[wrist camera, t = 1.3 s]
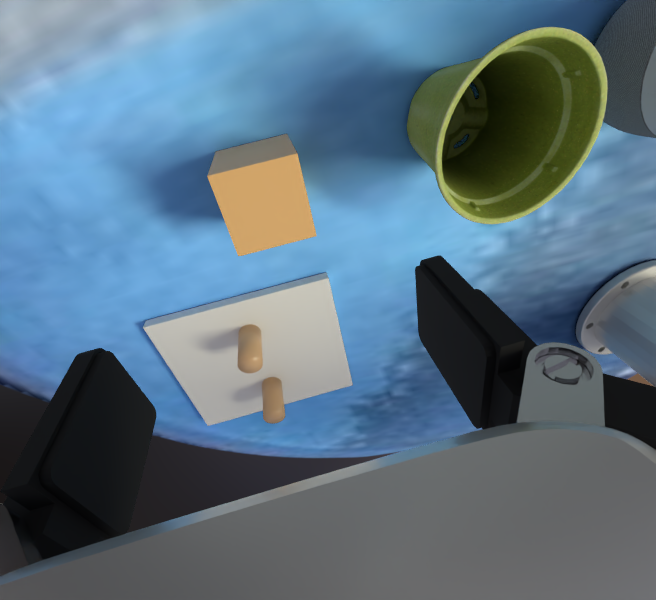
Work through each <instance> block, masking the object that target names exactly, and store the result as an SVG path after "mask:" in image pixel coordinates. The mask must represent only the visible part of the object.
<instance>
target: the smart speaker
mask: <svg viewBox="0 0 656 600" xmlns="http://www.w3.org/2000/svg"><path fill="white" fill-rule="evenodd" d="M594 47H595V48H596V50H597V51H598V53H599V54H600V56H601V58H602V61H603V64H604V67H605V71H606V75H607V87H608V89H607V103H606V109H605V114H604V118H603V121H604V122H605V123H607V124H608V125H610V126H612V127H614V128H616V129H618V130H621V131H623V132H626V133H630V134H634V135H639V136H645V137H652V138H656V0H627V1H626V2H624V3H623V4H622V5H621V7H620V8H619V9H618V10H617V11H616V12H615V13H614V15H613V16H612V17H611V19H610V20H609V21H608V23H607V24H606V26H605V27H604V29H603V30H602V32H601V34H600V36H599V37H598V39H597V41H596V44H595V46H594Z"/></svg>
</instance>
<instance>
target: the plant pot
mask: <svg viewBox="0 0 656 600" xmlns="http://www.w3.org/2000/svg"><path fill="white" fill-rule="evenodd" d="M471 82H473V83H474V84H475V86H476V87H477V89H478V92H479V98H478V99H477V100H476V99H475V96H474V93H473V91H472V88H470V86H469V84H470V83H471ZM607 89H608V87H607V75H606V71H605V67H604V64H603V61H602V58H601V56H600V54H599V53H598V51H597V50H596V48H595V47H594V46H593V45H592V43H591V42H590V41H588V40H587V39H586V38H585V37H583V36H582V35H581V34H579V33H577V32H575V31H572V30H569V29H565V28H559V27H542V28H536V29H532V30H528V31H525V32H522V33H520V34H517V35H515V36H513V37H511V38H509V39H507V40H505V41H504V42H502V43H501V44H499V45H498V46H496V47H495V48H493V49H492V50H491V51H489V52H488V53H487V54H486V55H485V56H484V57H482V58H479V59H476V60H473V61H469V62H465V63H461V64H457V65H453V66H449V67H445V68H443V69H440V70H439V71H437V72H435V73H434V74H432V75H431V76H430V77H428V78H427V79H426V80H425V81H424V82H423V83H422V84H421V86H420V87H419V88H418V90H417V91H416V93H415V95H414V97H413V99H412V101H411V105H410V110H409V115H408V122H407V133H408V137H409V140H410V143H411V145H412V147H413V148H414V150H415V151H416V152H417V153H418V154H419V155H420V157H421V158H422V159H423V160H424V161H425V162H426V163H427V164H428V165H429V167H430V168H431V169H432V170H433V171H434V172H435V175H436V179H437V183H438V186H439V189H440V191H441V193H442V195H443V197H444V199H445V200H446V202H447V203H448V204H449V205H450V206H451V208H452V209H453V210H454V211H456V212H457V213H458V214H459V215H461V216H462V217H464V218H466V219H468V220H470V221H473V222H477V223H483V224H499V223H505V222H510V221H513V220H516V219H519V218H521V217H523V216H525V215H527V214H529V213H531V212H533V211H535V210H537V209H538V208H540V207H541V206H542V205H544V204H545V203H546V202H548V201H549V200H550V199H552V198H553V197H554V196H555V195H556V194H558V193H559V192H560V191H561V190H562V189H563V188H564V187H565V186H566V185H567V184H568V183H569V181H570V180H571V179H572V178H573V177H574V175H575V173H576V172H577V171H578V170H579V169H580V167H581V166H582V164H583V162H584V161H585V160H586V158H587V156H588V154H589V153H590V151H591V149H592V146H593V145H594V143H595V141H596V139H597V137H598V134H599V131H600V128H601V126H602V122H603V118H604V114H605V109H606V103H607ZM451 116H452V119H451ZM450 119H451V120H450ZM466 134H469V138H468V139H467V140H466V142H465V143H464V144H462V145H461V146H460V147H458V148H454V145H455V144H456V143H458V142H459V141H461V140H462V139H463V138H464V137H465V135H466Z"/></svg>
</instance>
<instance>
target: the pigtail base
mask: <svg viewBox="0 0 656 600" xmlns="http://www.w3.org/2000/svg"><path fill="white" fill-rule="evenodd" d="M143 328H144V330H145V331H146V333H147V334H148V336H149V338H150V339H151V341H152V342H153V344H154V345H155V347H156V348H157V350H158V351H159V353H160V354H161V356H162V357H163V359H164V360H165V362H166V363H167V365H168V366H169V368H170V369H171V371H172V372H173V374H174V375H175V377H176V378H177V380H178V381H179V383H180V384H181V386H182V387H183V389H184V390H185V392H186V393H187V395H188V396H189V398H190V399H191V401H192V403H193V404H194V406H195V407H196V409H197V410H198V412H199V413H200V415H201V416H202V418H203V419H204V421H205V422H206V424H207V425H208V426H210V425H213V424H217V423H220V422H224V421H227V420H231V419H234V418H238V417H242V416H245V415H249V414H252V413H256V412H259V411H263V419H264V420H265V421H266V422H267V423H278V422H280V421H282V420H283V419H284V418H285V409H284V404H288V403H291V402H295V401H298V400H302V399H305V398H309V397H313V396H316V395H320V394H323V393H327V392H330V391H334V390H337V389H341V388H344V387H348V386H352V385H353V384H352V379H351V375H350V370H349V366H348V362H347V357H346V353H345V348H344V344H343V340H342V335H341V331H340V327H339V322H338V318H337V313H336V309H335V305H334V300H333V296H332V291H331V287H330V283H329V278H328V275H327V273H322V274H318V275H314V276H311V277H307V278H303V279H299V280H296V281H292V282H288V283H284V284H281V285H277V286H273V287H269V288H266V289H262V290H258V291H254V292H251V293H247V294H243V295H239V296H236V297H232V298H228V299H225V300H221V301H217V302H213V303H210V304H206V305H202V306H198V307H195V308H191V309H187V310H183V311H180V312H176V313H172V314H168V315H165V316H161V317H157V318H153V319H150V320H146V321H145V324H144V327H143Z"/></svg>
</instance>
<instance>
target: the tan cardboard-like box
mask: <svg viewBox="0 0 656 600" xmlns="http://www.w3.org/2000/svg"><path fill="white" fill-rule="evenodd" d="M207 177H208V179H209V182H210V185H211V187H212V190H213V192H214V195H215V197H216V200H217V202H218V205H219V208H220V210H221V213H222V215H223V218H224V220H225V223H226V226H227V228H228V231H229V233H230V236H231V238H232V241H233V244H234V246H235V249H236V251H237V254H238V256H242V255H246V254H250V253H254V252H257V251H261V250H265V249H269V248H273V247H277V246H280V245H284V244H288V243H292V242H296V241H299V240H303V239H307V238H311V237H315V236H316V231H315V227H314V223H313V218H312V214H311V210H310V205H309V201H308V197H307V193H306V188H305V184H304V180H303V175H302V171H301V167H300V162H299V158H298V154H297V152H296V150H295V148H294V146H293V144H292V142H291V140H290V138H289V136H288V135H287V134H284V135H280V136H276V137H272V138H268V139H264V140H260V141H256V142H252V143H247V144H243V145H239V146H235V147H231V148H227V149H223V150H219V151H216V152H215V155H214V158H213V161H212V164H211V167H210V169H209V172H208V175H207Z"/></svg>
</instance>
